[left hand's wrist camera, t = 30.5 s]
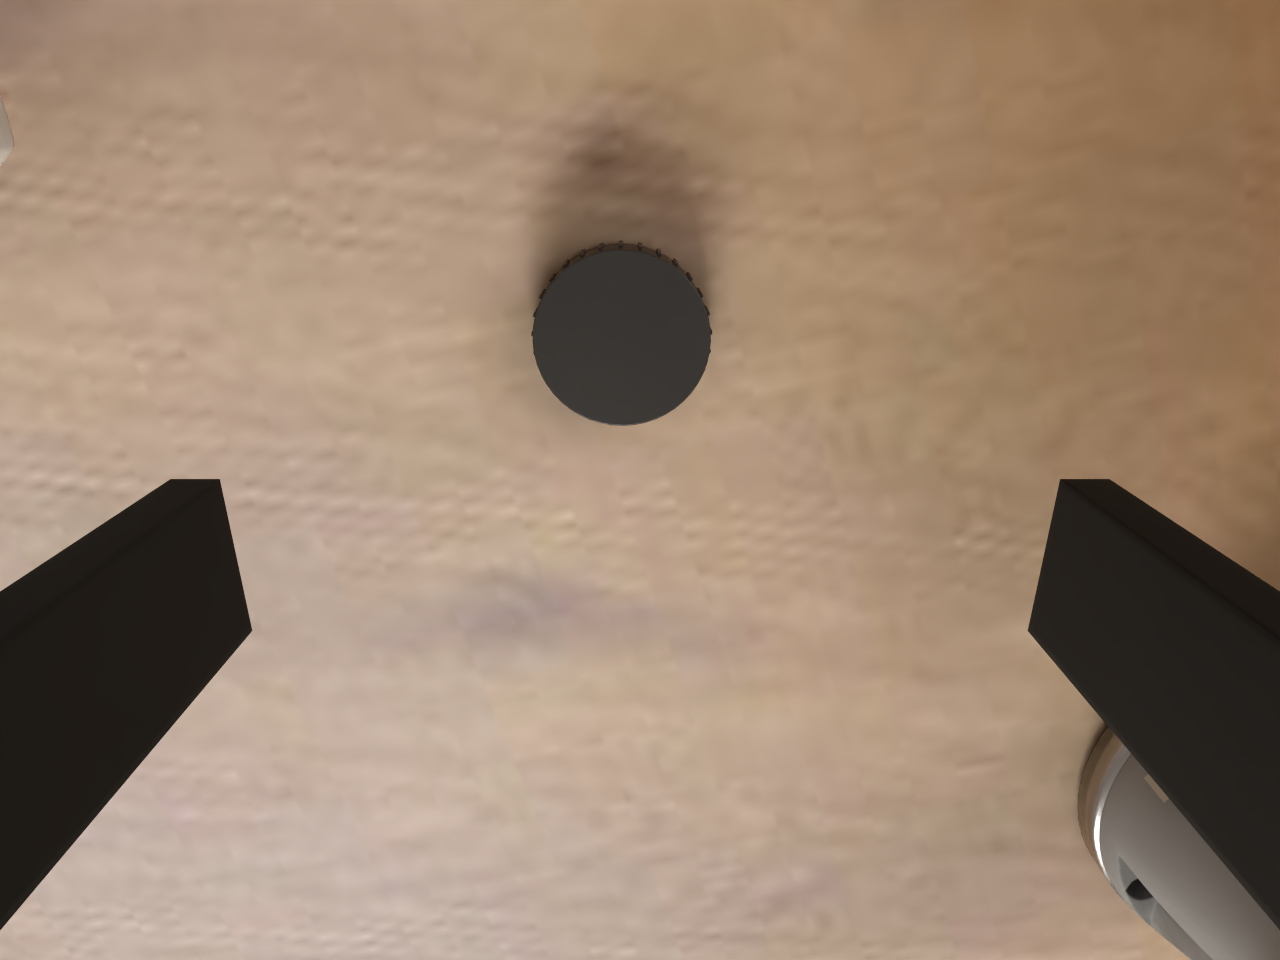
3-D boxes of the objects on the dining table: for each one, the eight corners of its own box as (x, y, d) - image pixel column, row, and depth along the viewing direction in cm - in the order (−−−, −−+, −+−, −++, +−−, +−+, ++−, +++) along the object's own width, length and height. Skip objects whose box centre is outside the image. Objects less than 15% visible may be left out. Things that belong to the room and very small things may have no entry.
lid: (499, 314, 24) (491, 325, 23) (637, 201, 23) (638, 205, 22) (608, 443, 26) (607, 461, 25) (742, 345, 25) (748, 357, 23)
